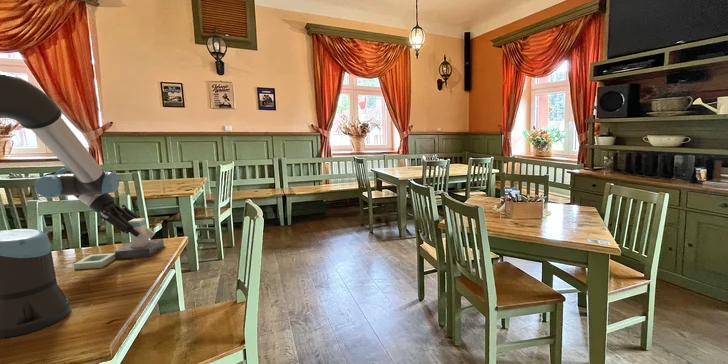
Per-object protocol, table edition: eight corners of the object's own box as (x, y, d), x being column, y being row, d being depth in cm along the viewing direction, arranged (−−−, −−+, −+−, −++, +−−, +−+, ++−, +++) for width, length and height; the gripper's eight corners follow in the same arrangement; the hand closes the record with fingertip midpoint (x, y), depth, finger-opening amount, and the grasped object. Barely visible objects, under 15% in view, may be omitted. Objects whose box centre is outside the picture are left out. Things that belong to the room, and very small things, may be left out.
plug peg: (143, 248, 134) (139, 220, 132) (132, 248, 133) (128, 221, 131) (148, 244, 138) (144, 218, 136) (137, 245, 137) (133, 218, 135)
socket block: (150, 256, 130) (149, 249, 130) (116, 259, 129) (114, 251, 128) (163, 245, 142) (163, 239, 142) (132, 248, 141) (131, 241, 140)
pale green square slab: (102, 267, 121) (101, 261, 121) (74, 269, 120) (73, 263, 120) (117, 257, 130) (116, 252, 130) (91, 259, 129) (90, 254, 129)
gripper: (104, 201, 139) (153, 238, 144) (75, 212, 122) (131, 252, 127) (117, 188, 139) (165, 225, 144) (89, 196, 122) (145, 238, 127)
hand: (149, 238), depth 135 cm, fingers closed on plug peg, 4 cm apart
